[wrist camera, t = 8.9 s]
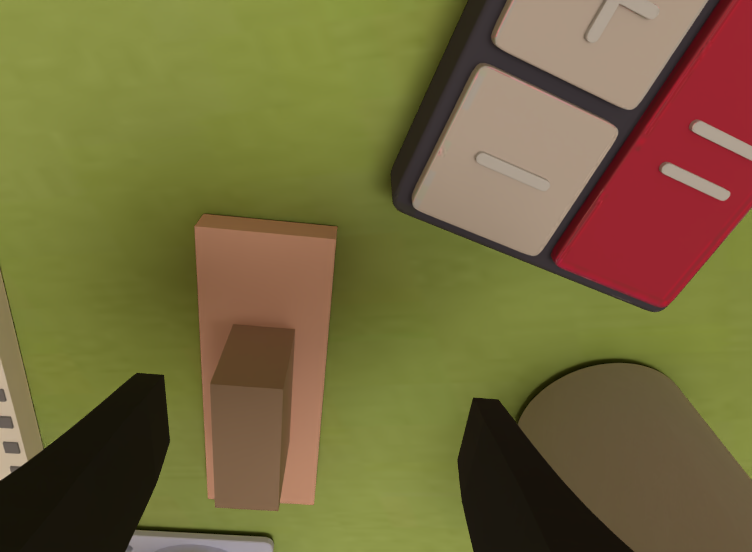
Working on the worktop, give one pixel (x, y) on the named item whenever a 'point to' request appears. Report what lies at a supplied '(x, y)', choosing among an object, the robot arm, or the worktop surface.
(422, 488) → the worktop surface
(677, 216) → the calculator
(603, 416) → the travel mug
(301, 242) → the pink block with handle
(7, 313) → the cream notepad
